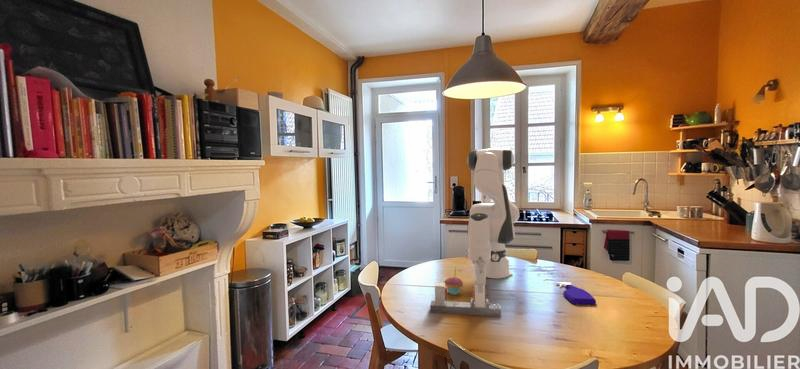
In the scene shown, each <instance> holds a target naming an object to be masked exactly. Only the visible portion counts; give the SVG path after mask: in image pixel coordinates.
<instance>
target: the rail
mask: <svg viewBox="0 0 800 369" xmlns="http://www.w3.org/2000/svg"><path fill="white" fill-rule="evenodd" d="M489 301H490V300H489V298H485V308H482V307H475V302H473V297H471V298H470V302H468V301H448V289H447V286H445V282H435V285H434V300H431V301H430V305H429V308H430V313H434V314H450V315H465V316H467V315H470V316H485V317H486V316H488V317H502V308H501V305H500V303H490V302H489Z"/></svg>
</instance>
